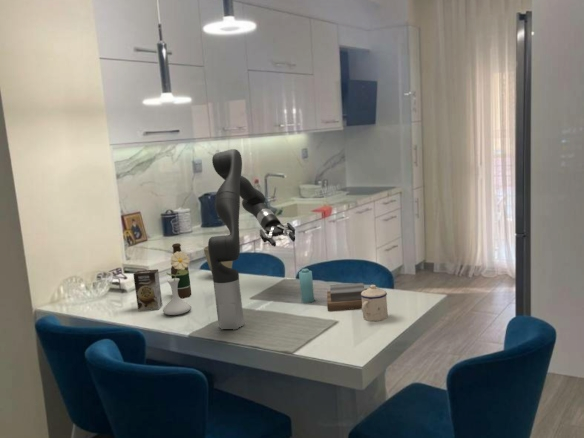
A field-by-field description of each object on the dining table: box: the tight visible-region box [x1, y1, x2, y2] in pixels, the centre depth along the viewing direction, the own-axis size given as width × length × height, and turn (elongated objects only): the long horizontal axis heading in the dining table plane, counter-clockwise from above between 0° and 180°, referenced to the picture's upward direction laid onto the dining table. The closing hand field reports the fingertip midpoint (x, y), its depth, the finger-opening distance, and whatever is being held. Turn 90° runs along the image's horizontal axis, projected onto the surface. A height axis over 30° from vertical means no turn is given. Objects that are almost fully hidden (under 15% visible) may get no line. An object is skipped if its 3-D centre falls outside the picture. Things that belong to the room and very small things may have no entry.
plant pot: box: [203, 245, 234, 273], centre depth 274 cm, size 15×15×16 cm
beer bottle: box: [170, 243, 192, 300], centre depth 246 cm, size 8×8×24 cm
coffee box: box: [133, 268, 163, 312], centre depth 233 cm, size 9×6×16 cm
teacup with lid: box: [361, 284, 389, 322], centre depth 193 cm, size 12×9×12 cm
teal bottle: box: [298, 268, 315, 304], centre depth 222 cm, size 5×5×13 cm
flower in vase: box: [162, 250, 192, 316], centre depth 222 cm, size 13×11×25 cm
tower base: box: [326, 282, 368, 312], centre depth 214 cm, size 16×16×6 cm
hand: (284, 242), depth 225 cm, fingers open, 8 cm apart
